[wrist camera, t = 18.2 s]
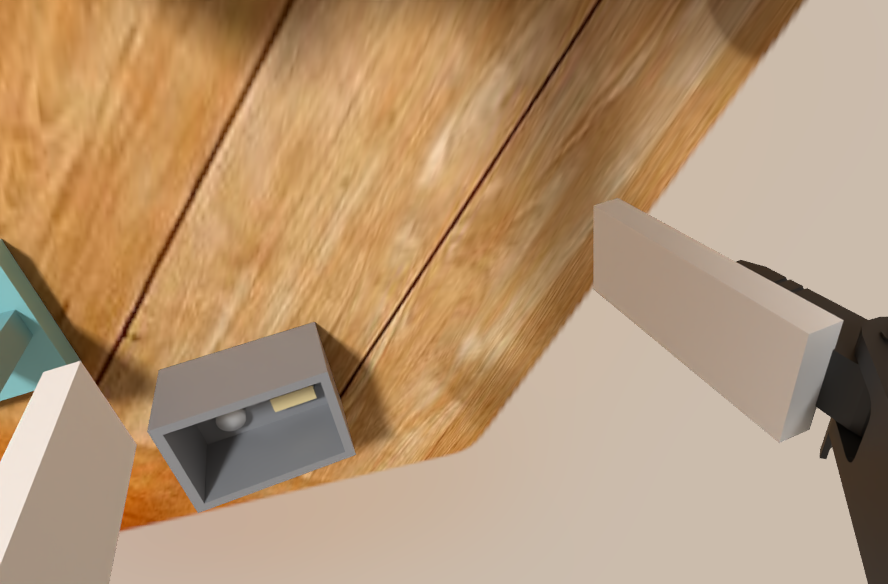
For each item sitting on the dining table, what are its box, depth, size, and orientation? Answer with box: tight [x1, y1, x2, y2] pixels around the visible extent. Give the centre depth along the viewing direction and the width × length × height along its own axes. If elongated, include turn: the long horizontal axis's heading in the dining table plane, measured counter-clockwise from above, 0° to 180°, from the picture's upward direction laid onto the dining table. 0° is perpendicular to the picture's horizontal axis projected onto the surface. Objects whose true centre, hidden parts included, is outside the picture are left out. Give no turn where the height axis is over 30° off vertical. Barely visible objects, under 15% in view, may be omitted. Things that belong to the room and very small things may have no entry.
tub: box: [147, 322, 356, 513], centre depth 48 cm, size 14×10×8 cm
